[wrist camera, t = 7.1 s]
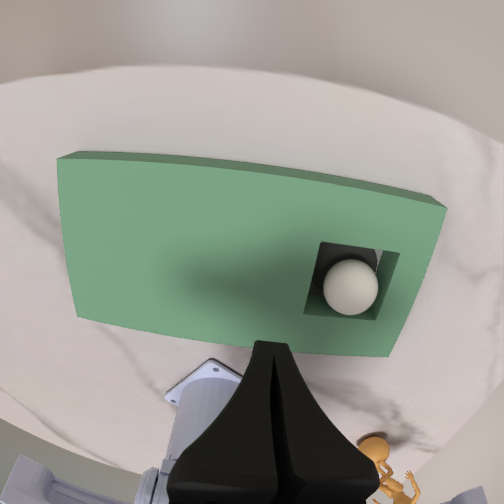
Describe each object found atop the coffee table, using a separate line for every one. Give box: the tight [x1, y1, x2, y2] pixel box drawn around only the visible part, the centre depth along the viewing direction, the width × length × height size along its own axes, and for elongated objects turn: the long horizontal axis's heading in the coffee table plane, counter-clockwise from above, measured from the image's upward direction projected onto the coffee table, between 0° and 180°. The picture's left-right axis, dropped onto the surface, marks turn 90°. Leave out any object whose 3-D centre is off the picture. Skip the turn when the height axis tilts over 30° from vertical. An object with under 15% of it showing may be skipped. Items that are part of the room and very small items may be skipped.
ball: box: [323, 259, 378, 315], centre depth 20 cm, size 4×4×4 cm
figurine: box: [358, 437, 420, 504], centre depth 26 cm, size 8×6×12 cm
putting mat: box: [57, 151, 447, 357], centre depth 20 cm, size 24×12×2 cm, turn 83°
